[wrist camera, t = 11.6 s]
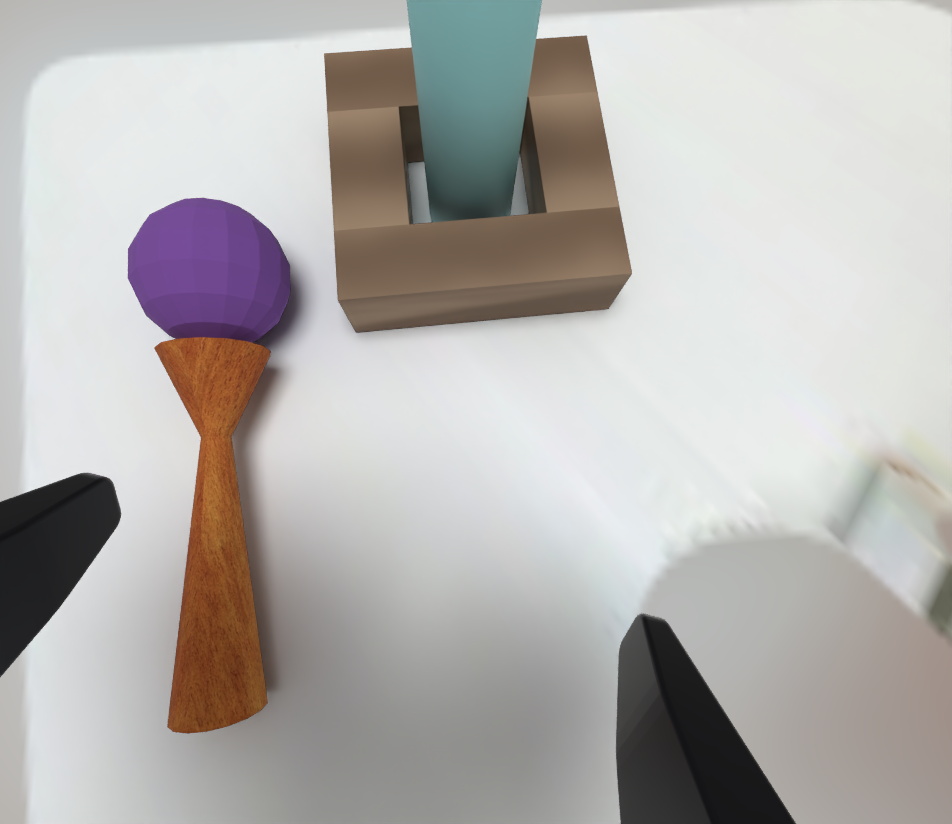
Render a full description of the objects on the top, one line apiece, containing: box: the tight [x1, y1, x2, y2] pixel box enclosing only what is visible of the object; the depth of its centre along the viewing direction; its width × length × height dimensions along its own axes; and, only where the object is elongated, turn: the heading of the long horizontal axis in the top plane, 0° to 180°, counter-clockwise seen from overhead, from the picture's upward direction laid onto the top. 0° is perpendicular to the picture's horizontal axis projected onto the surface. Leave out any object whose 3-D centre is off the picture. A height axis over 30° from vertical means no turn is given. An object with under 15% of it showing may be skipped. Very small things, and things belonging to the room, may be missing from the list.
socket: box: [324, 36, 632, 332], centre depth 23 cm, size 12×12×4 cm
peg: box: [407, 0, 542, 222], centre depth 18 cm, size 4×4×14 cm
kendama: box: [128, 198, 290, 733], centre depth 20 cm, size 6×6×20 cm
